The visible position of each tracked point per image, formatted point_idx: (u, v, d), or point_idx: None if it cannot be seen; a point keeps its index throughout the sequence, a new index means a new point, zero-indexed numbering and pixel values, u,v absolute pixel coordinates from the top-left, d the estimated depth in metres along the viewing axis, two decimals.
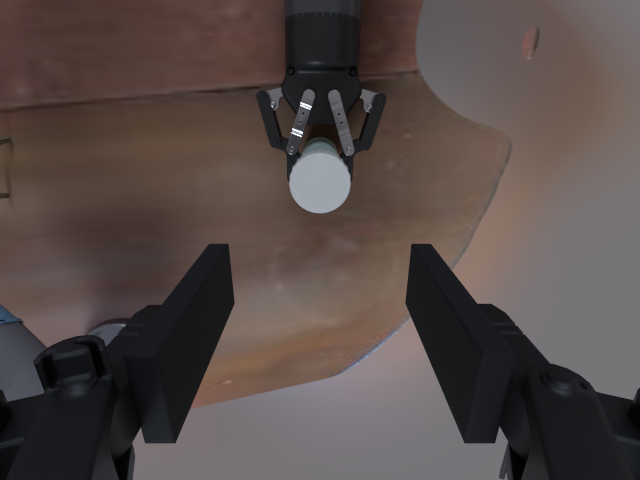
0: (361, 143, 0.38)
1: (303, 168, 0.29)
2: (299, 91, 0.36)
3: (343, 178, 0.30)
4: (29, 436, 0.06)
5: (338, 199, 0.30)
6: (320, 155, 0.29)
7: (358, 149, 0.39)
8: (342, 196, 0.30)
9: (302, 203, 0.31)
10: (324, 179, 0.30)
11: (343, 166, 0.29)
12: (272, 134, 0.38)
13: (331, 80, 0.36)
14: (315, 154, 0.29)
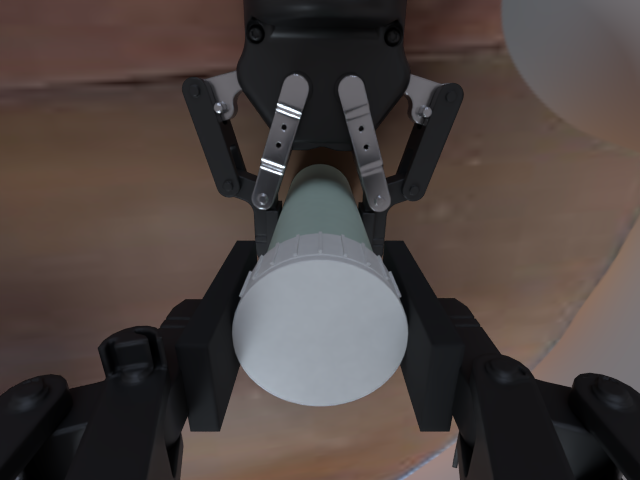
0: (405, 187, 0.18)
1: (270, 301, 0.10)
2: (275, 79, 0.17)
3: (388, 326, 0.10)
4: (93, 419, 0.06)
5: (372, 376, 0.11)
6: (321, 266, 0.09)
7: (397, 198, 0.19)
8: (383, 369, 0.11)
9: (271, 385, 0.11)
10: (333, 328, 0.10)
11: (390, 295, 0.10)
12: (221, 170, 0.18)
13: (345, 55, 0.16)
14: (306, 264, 0.09)
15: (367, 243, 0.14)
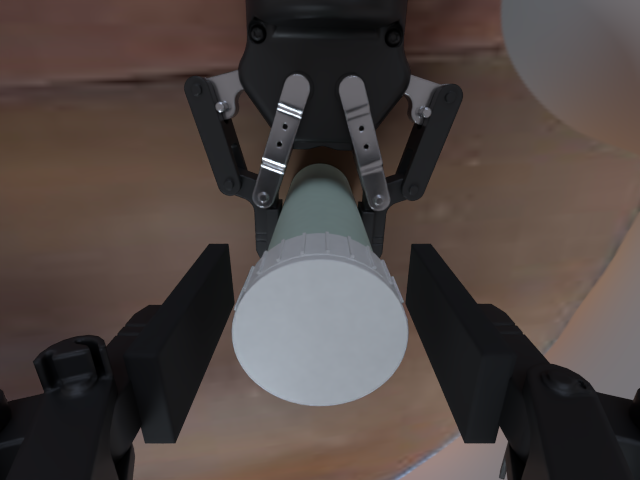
0: (404, 187, 0.19)
1: (265, 365, 0.11)
2: (276, 79, 0.17)
3: (323, 278, 0.10)
4: (29, 436, 0.06)
5: (381, 306, 0.10)
6: (240, 319, 0.10)
7: (397, 197, 0.19)
8: (377, 293, 0.10)
9: (358, 390, 0.11)
10: (310, 326, 0.10)
11: (287, 269, 0.10)
12: (222, 168, 0.18)
13: (346, 55, 0.16)
14: (235, 330, 0.10)
15: (367, 241, 0.14)
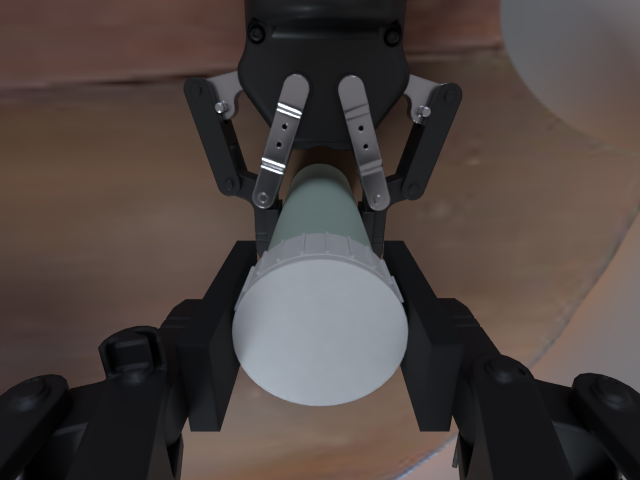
0: (404, 187, 0.19)
1: (265, 366, 0.11)
2: (276, 79, 0.17)
3: (323, 278, 0.10)
4: (93, 419, 0.06)
5: (381, 305, 0.10)
6: (240, 319, 0.10)
7: (397, 197, 0.19)
8: (376, 293, 0.10)
9: (358, 390, 0.11)
10: (310, 326, 0.10)
11: (287, 269, 0.10)
12: (222, 169, 0.18)
13: (345, 55, 0.16)
14: (235, 330, 0.10)
15: (366, 241, 0.14)
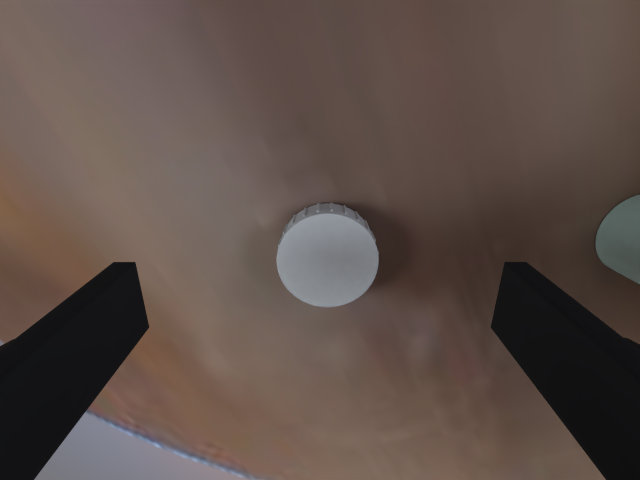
0: None
1: (295, 279, 0.18)
2: None
3: (329, 224, 0.17)
4: None
5: (362, 241, 0.17)
6: (282, 249, 0.18)
7: None
8: (359, 233, 0.17)
9: (350, 296, 0.19)
10: (322, 254, 0.18)
11: (309, 219, 0.17)
12: None
13: None
14: (278, 256, 0.18)
15: None
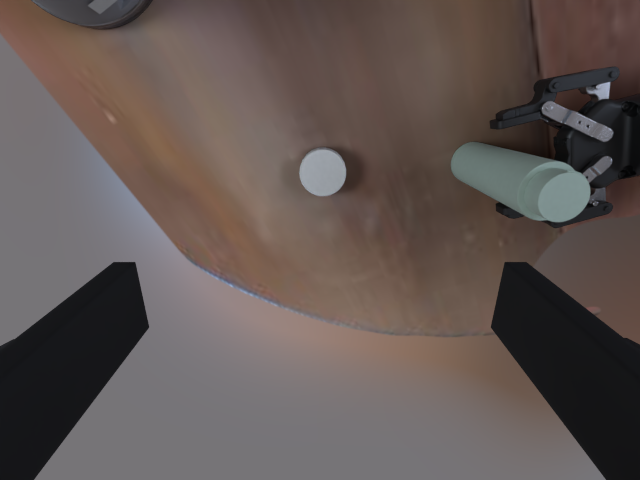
0: None
1: (308, 182, 0.40)
2: (604, 121, 0.32)
3: (323, 154, 0.38)
4: None
5: (338, 162, 0.39)
6: (302, 167, 0.39)
7: None
8: (337, 159, 0.39)
9: (333, 190, 0.40)
10: (320, 169, 0.39)
11: (314, 152, 0.38)
12: (566, 82, 0.31)
13: (615, 154, 0.33)
14: (300, 170, 0.39)
15: None
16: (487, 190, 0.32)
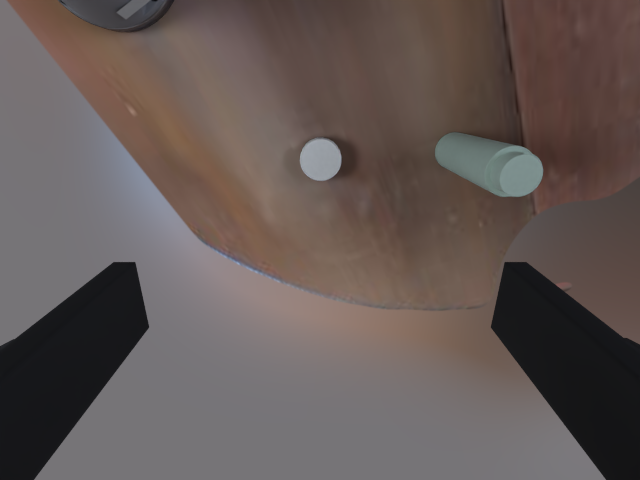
0: None
1: (307, 168, 0.44)
2: None
3: (321, 143, 0.43)
4: None
5: (334, 150, 0.44)
6: (302, 154, 0.44)
7: None
8: (333, 147, 0.44)
9: (330, 175, 0.45)
10: (318, 156, 0.44)
11: (313, 141, 0.43)
12: None
13: None
14: (300, 157, 0.44)
15: None
16: (463, 173, 0.37)
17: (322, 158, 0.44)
